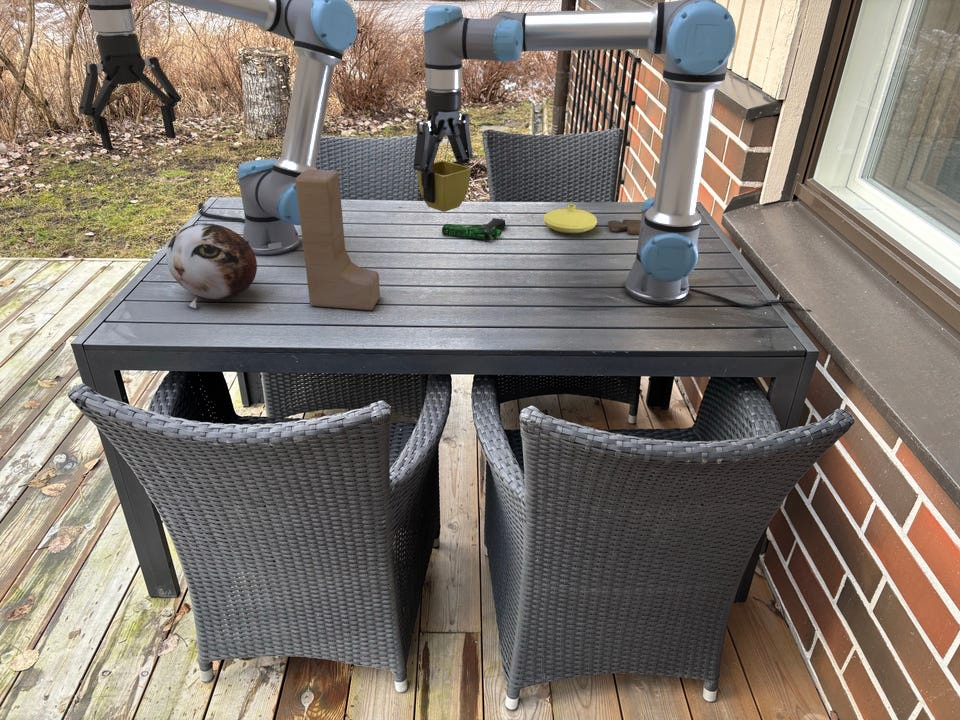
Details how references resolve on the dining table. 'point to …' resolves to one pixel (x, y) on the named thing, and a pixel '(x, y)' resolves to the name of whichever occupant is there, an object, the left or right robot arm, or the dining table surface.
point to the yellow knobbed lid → (570, 220)
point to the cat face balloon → (211, 261)
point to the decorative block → (330, 246)
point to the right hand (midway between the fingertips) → (444, 196)
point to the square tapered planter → (448, 185)
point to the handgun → (476, 230)
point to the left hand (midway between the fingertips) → (140, 143)
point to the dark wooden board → (625, 226)
